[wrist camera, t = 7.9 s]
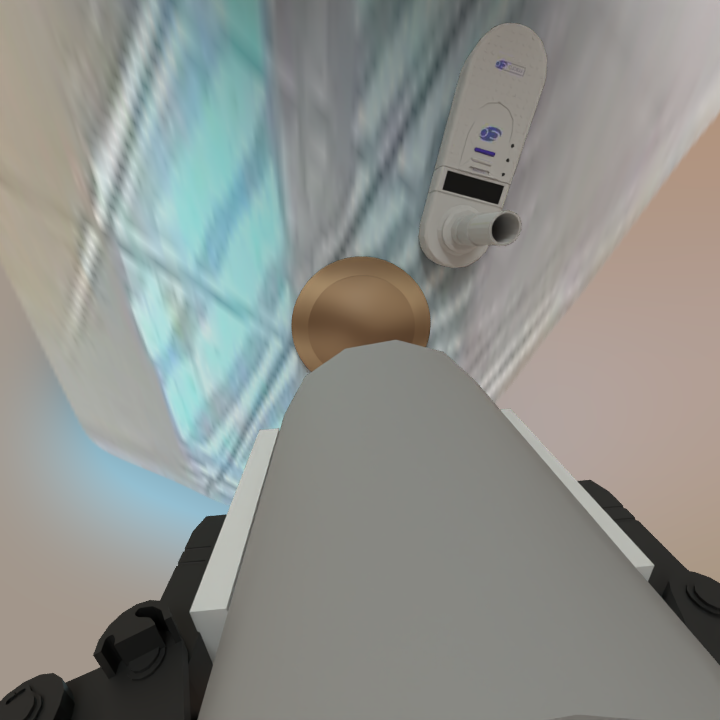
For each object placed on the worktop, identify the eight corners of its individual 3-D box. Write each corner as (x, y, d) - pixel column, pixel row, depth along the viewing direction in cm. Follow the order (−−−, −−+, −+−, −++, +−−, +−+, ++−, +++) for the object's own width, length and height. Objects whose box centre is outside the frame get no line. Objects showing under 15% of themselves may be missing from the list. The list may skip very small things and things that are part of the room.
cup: (520, 372, 13) (973, 745, 4) (443, 524, 16) (588, 945, 7) (307, 316, 12) (185, 683, 2) (265, 493, 14) (137, 967, 5)
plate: (283, 261, 27) (281, 263, 26) (429, 251, 27) (432, 252, 26) (302, 392, 32) (301, 397, 31) (427, 382, 32) (429, 386, 31)
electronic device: (667, -60, 14) (531, 288, 19) (538, 57, 23) (469, 271, 28) (555, -106, 13) (443, 267, 18) (468, 33, 23) (409, 257, 28)
